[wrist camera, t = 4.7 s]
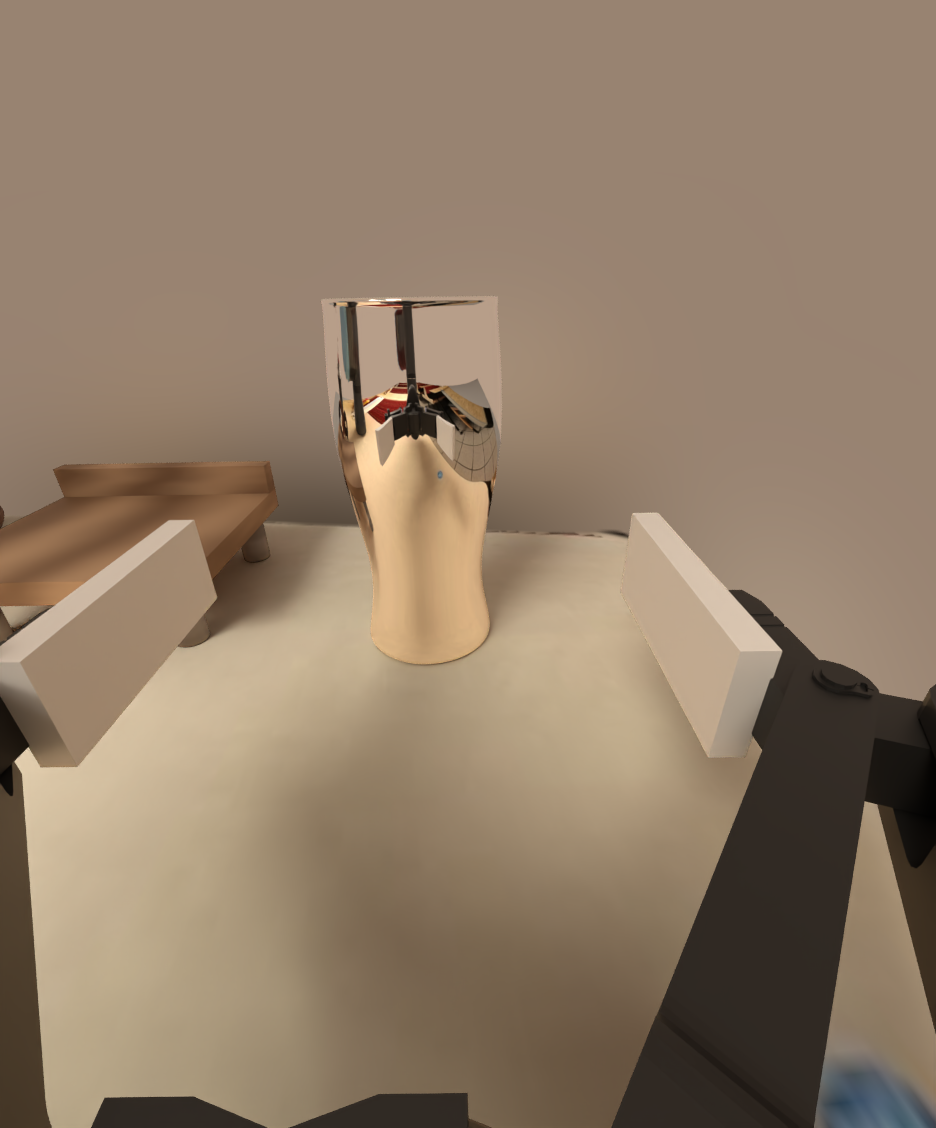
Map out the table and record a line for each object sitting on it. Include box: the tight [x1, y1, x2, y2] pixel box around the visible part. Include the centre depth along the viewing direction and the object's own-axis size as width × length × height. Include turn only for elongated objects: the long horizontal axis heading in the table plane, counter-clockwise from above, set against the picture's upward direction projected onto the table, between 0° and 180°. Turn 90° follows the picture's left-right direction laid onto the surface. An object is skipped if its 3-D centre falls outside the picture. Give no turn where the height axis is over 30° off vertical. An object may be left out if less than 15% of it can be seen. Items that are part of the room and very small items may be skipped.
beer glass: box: [321, 296, 502, 664], centre depth 22 cm, size 7×7×15 cm
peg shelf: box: [0, 461, 278, 647], centre depth 28 cm, size 13×12×6 cm
